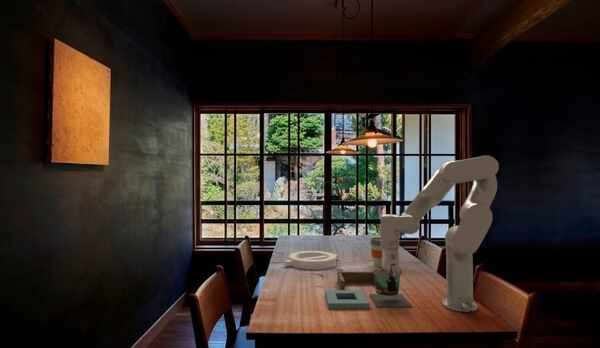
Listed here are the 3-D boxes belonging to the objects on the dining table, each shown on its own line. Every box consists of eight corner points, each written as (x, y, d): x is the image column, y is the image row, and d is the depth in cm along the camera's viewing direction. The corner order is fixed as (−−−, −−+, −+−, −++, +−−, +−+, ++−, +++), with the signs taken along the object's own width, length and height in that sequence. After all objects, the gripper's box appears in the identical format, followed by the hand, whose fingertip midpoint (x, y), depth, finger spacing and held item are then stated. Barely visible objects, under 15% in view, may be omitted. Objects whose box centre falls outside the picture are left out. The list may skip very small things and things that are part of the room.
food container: (379, 298, 138) (379, 272, 138) (373, 292, 144) (373, 268, 144) (407, 295, 141) (407, 270, 141) (399, 290, 147) (399, 266, 147)
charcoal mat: (412, 307, 136) (412, 305, 136) (376, 307, 136) (376, 305, 136) (401, 295, 150) (401, 293, 150) (369, 295, 150) (369, 294, 150)
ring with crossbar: (339, 260, 217) (339, 252, 217) (331, 271, 190) (331, 263, 190) (296, 257, 224) (296, 249, 224) (282, 268, 197) (282, 259, 197)
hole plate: (369, 308, 135) (369, 303, 135) (328, 308, 135) (328, 303, 135) (361, 294, 151) (361, 290, 151) (325, 294, 151) (325, 290, 151)
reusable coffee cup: (368, 262, 208) (368, 237, 208) (388, 262, 209) (388, 237, 209) (373, 268, 196) (373, 241, 196) (395, 267, 196) (395, 241, 197)
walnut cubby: (384, 292, 154) (384, 281, 154) (341, 292, 154) (341, 281, 154) (376, 281, 170) (376, 271, 170) (337, 281, 170) (337, 271, 170)
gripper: (405, 248, 135) (405, 295, 135) (393, 240, 152) (392, 282, 152) (386, 248, 135) (385, 295, 135) (375, 240, 152) (375, 282, 152)
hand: (389, 288), depth 143 cm, fingers closed on food container, 5 cm apart
